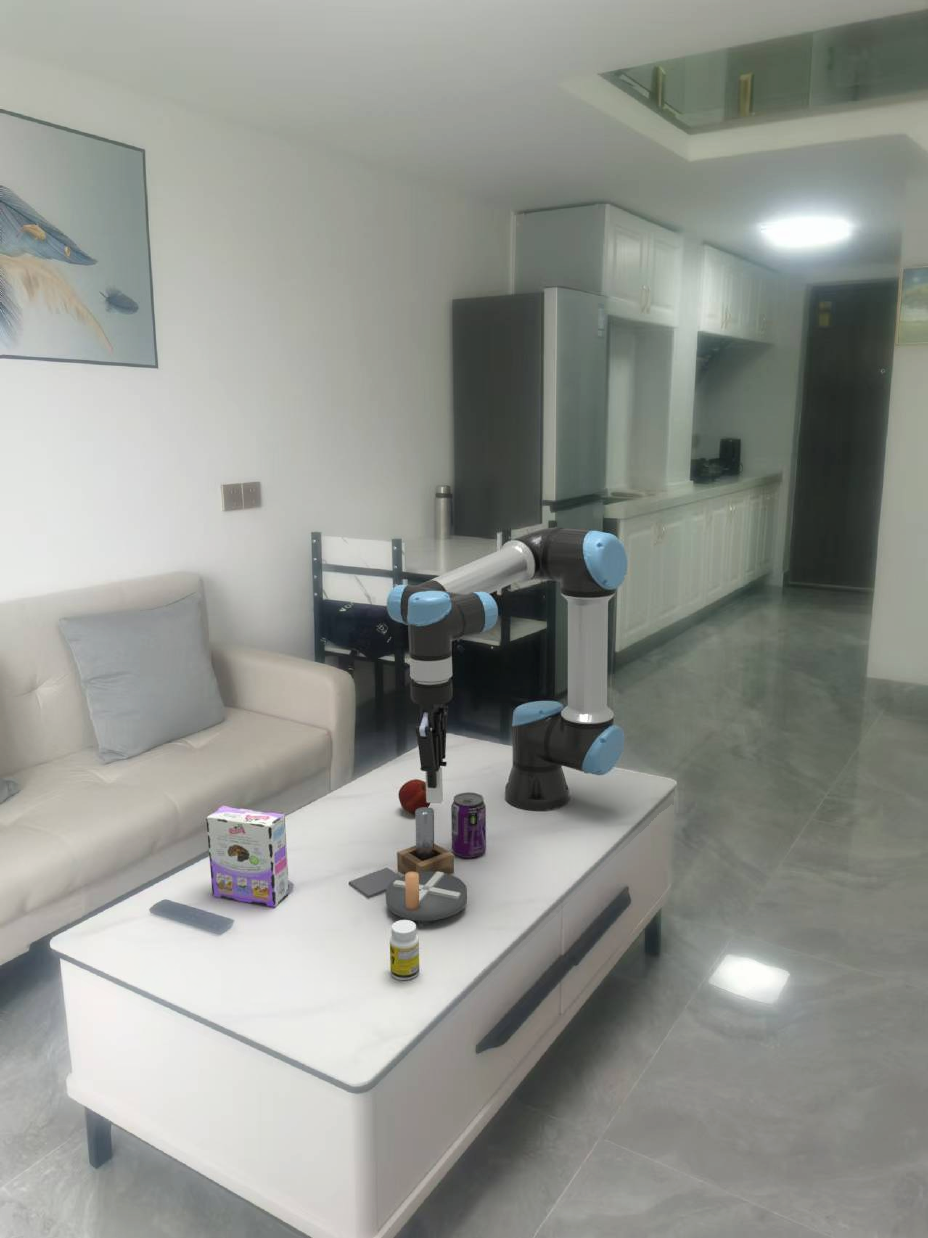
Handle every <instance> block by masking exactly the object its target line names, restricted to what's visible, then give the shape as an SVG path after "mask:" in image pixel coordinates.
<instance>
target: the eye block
mask: <svg viewBox="0 0 928 1238" xmlns="http://www.w3.org/2000/svg"><path fill="white" fill-rule="evenodd" d="M454 854H455V853H453V852H450V851H448V850H447V849H446V848H443V847H442V846H439V845H438V844H436V843H435V842H434V857H433V858H430V859H428V860H425V861H422V860H420V859H418V858H417V857H416V844H415V845H413V846H410V847H407V848H404V849H402V850H399V851H397V852H396V859H397V860H396V861H397V864H396V865H397V871H398V872H399V873H401V875H405V874H406V873H408V872H423V871H434V872H437V871H438V872H443V873H447V874H450V875H452V874H454V872H455V869H454V868H455V867H454V866H455V864H454V861H455V859H454V858H455V857H454Z"/></svg>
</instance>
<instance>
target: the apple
mask: <svg viewBox="0 0 928 1238" xmlns="http://www.w3.org/2000/svg"><path fill="white" fill-rule="evenodd" d="M397 795H398V799H399V802H400V806H401V808H402V809H403V810H404V811H405V812H406V813H408V814H409V815H415V811H416V809H418V808H422V807H428V808H430V806H431V803H427V802H426V781H424V780H421V779H417V778H415V779H411V780H408V781H407V782H405V783H404V784H403V785H402V786H401V787H400V788H399V790H398V794H397Z"/></svg>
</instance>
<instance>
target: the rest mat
mask: <svg viewBox="0 0 928 1238" xmlns="http://www.w3.org/2000/svg"><path fill="white" fill-rule="evenodd" d="M399 877H401V875H399V874H398V873H397V872H395V871H393V870H392V869H390V868H389V867H385V868H382V869H379V870H376V871H373V872H371V873H368V874H366V875H362V876H360V877H358V878H355V879H351V880H349V881H348V885H349V886H350V887H352V888H353V889H354V890H356V891H358V892H359V893H360V894H361V895H362V896H364V897H366V898H367V899H371V898H374V897H377V896H379V895H383V894H384V893H386V889H387V887H388V885H389V884H390V883H391V882H392V881H394V880H395V879H397V878H399Z"/></svg>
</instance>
